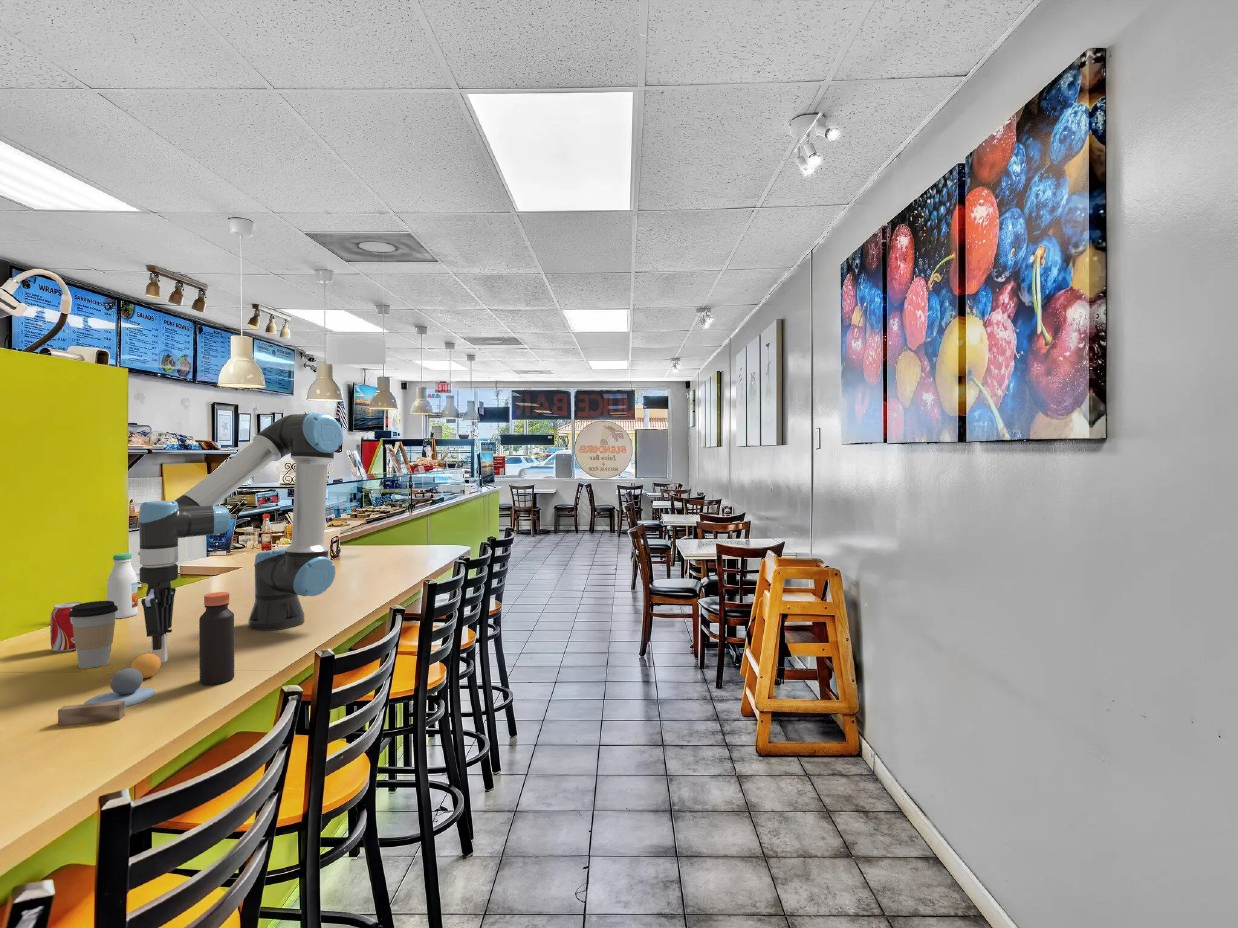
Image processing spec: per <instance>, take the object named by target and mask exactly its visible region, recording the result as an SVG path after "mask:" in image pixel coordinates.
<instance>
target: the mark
mask: <svg viewBox="0 0 1238 928" xmlns="http://www.w3.org/2000/svg"><path fill="white" fill-rule="evenodd" d="M155 695H156V690H155V689H153V688H150V687H141V686H140V687H139V688H138V689H137V690H136V691H135V692H133V693H131V694H127V695H120V694H117V693H115V692H114V691H113V690H111V691H108V692H105V693H102V694H99V695H96V696H93V697H90V698H89V699H87V700H86V701H85V702H83V704H91V703H102V702H114V701H124V704H125V708H126V707H127V708H128V707H130V706H134V705H136V704H137V705H138V704H140V703H142V702H143V703H144V702H145V701H147V700H149V699H151V698H152V697H154V696H155Z"/></svg>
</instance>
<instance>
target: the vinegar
mask: <svg viewBox="0 0 1238 928" xmlns="http://www.w3.org/2000/svg"><path fill="white" fill-rule="evenodd" d="M203 601H204V602H203V604H204V608H205V611H204V612H203V613H202V614H201V615H200V616H199V621H198V623H199V627H198V629H199V630H198V631H199V634H198V636H199V637H198V639H199V643H198V644H199V646H198V648H199V651H198V652H199V654H198V655H199V683H200V684H201V685H203V686H214V685H220V684H225V683H228V682H230V681H232V680H233V679H234V678H235V613H234V612H233V611H232V610H230V609H229V608H228V607H229V605H230V592H226V591H219V592H218V591H217V592H216V591H215V592H211V593H210V592H209V593H206V594H205V595H204V596H203Z"/></svg>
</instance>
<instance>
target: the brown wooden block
mask: <svg viewBox="0 0 1238 928" xmlns="http://www.w3.org/2000/svg"><path fill="white" fill-rule="evenodd" d="M125 708H126V707H125V704H124V701H114V702H102V703H91V704H84V703H82V704H81V703H80V704H71V705H63V706H62V707H60V708H59V709H58V710H57V726H65V725H66V726H67V725H76V724H86V723H87V724H88V723H98V722H99V723H100V722H109V721H120V720H121V719H123V717H124V716H125Z"/></svg>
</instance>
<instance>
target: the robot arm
mask: <svg viewBox="0 0 1238 928" xmlns="http://www.w3.org/2000/svg"><path fill="white" fill-rule="evenodd" d="M343 440H344V433H343V429H342V426H341V424H340V423H339V422H338V421H337V420H336V419H335V417H333V416H331V415H329V414H325V413H319V412H317V413H316V412H312V413H302V414H301V413H299V414H297V413H295V414H293V413H292V414H288V415H285V416H283V417H281V418H279V419H277V420H276V421H274V422H273V423H271V424H269V425H267V427H265V428H263V430H261V431H259V432H258V433H257V434H255V436H253V438H252V442H251V443H250V444H249V445H248V446H245V448H243V449H242V450H240V451H239V452H238V453H237V454H235V455H234V456H233V457H231V458H230V459H229V460H227V461H226V462H225V463H224V464H222V465H220V466H219V467H218V468H216V469H215V470H213V471H212V472H211V473H210V474H208V475H207V476H206V477H204V478H203V479H202V480H200V481H199V482H198V483H196V484H195V485H193V486H192V487H191V488H190V489H189V490H187V491H186V492H185V493H183V494H182V495H181V496H179V497H177V498H176V499H175V500H151V501H144V502H142V503H141V504H140V506H139V512H138V525H139V526H138V528H139V529H138V530H139V551H137V555H138V556H139V564H140V565H141V566H140V568H139V582H140V583H142V584H147V587H146V588H147V590H146V592H145V593H146V594H145V595H146V598H141V601H140V603H141V606H142V608H143V616H144V624H145V629H146V637H151V654H154V655H156V656H158V657H159V659H160V661H161V663H165V662H167V661H168V633H172V632H173V629H172V624H173V616H174V615H173V613H174V601H175V596H176V591H177V589H176V587H172V583H171V582H173V581H176V580H177V579H178V578H179V564H177V562H179V539H183V538H184V539H185V538H189V537H191V538H193V537H202V536H203V537H204V536H215V535H219V534H225V533H226V532H228V531H229V528H230V527H231V522H232V519H231V518H232V517H231V513H230V510H229V509H228V508H227V507H226V506H225V505H218V504H219V503H221V502H222V501H224V500H225V499H226V498H227V497H229V496H230V495H231V494H232V493H234V492H235V491H236V490H237V489H238V488H240V487H242V486H243V485H244V484H245V483H247V481H249V480H250V479H251V478H253V477H254V476H255V475H257V474H258V473H259V472H260V471H262V470H263V469H264V468H265V467H267V466H268V465H269V464H270V463H271V462H278V461H281V459H282V458H284V457H286V456H287V455H290V459H292V461H294V462H295V475H294V476H295V478H294V489H293V490H294V491H293V494H294V495H293V510H292V525H291V527H292V528H291V542H290V543H291V544H290V545H288V547H286V548H279V549H278V548H277V549H271V550H265V551H259V552H257V554H255V559H254V602H253V606H252V609H251V612H250V615H249V618H248V622H247V623H248V624H247V625H248V628H249V629H250V630H252V631H253V630H254V631H274V630H275V631H276V630H283V629H288V628H293V627H296V626H300V625H301V624H303V623H305V611H304V610H303V607H302V604H301V602H300V596H301V597H316V596H319V595H321V594H323V593H325V592H326V591H327V590H328V588H330V587H331V586H332V585H333V582H334V580H335V577H336V571H337V570H336V566H335V564H334V562H333V561H332V560H331V559H330V558H329V548H328V547H327V546H326V545H325V544H324V540H325V525H326V524H325V521H326V505H327V504H326V502H327V501H326V500H327V486H328V485H327V483H328V469H329V468H328V467H329V464H330V463H331V462H332V461H334V456H335V452H336V451H338V450H339V447H341V446H342V444H343Z"/></svg>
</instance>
